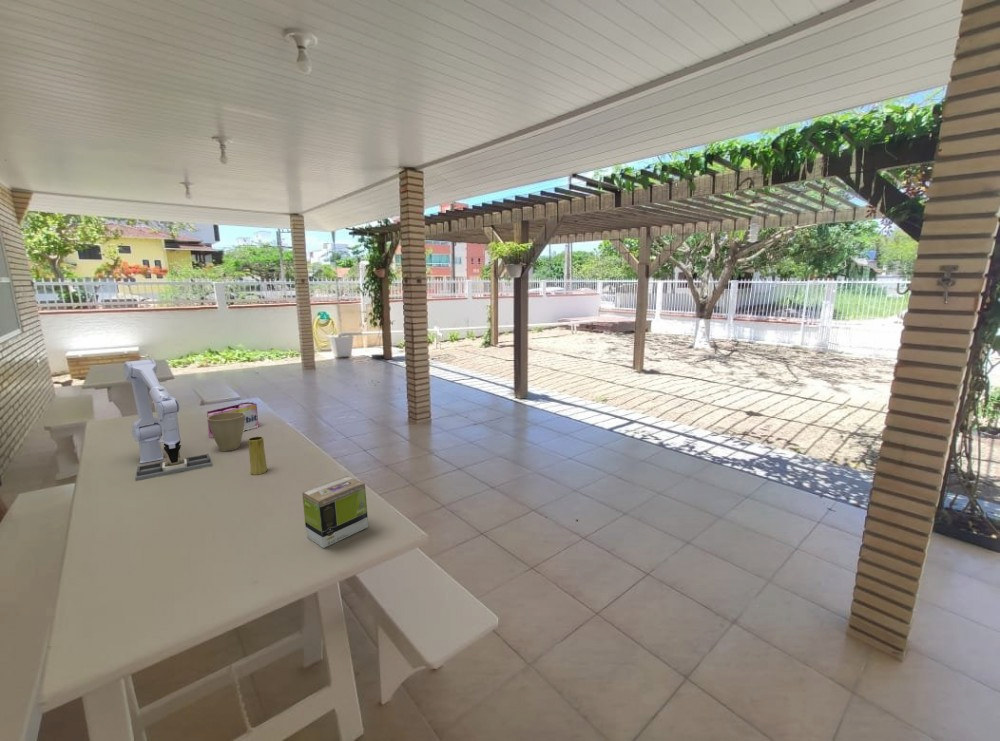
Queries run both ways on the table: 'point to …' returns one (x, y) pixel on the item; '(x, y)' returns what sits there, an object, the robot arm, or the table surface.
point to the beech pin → (175, 462)
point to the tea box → (335, 510)
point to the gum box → (246, 408)
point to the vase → (257, 455)
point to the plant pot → (227, 429)
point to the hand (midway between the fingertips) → (174, 460)
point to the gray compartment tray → (172, 467)
